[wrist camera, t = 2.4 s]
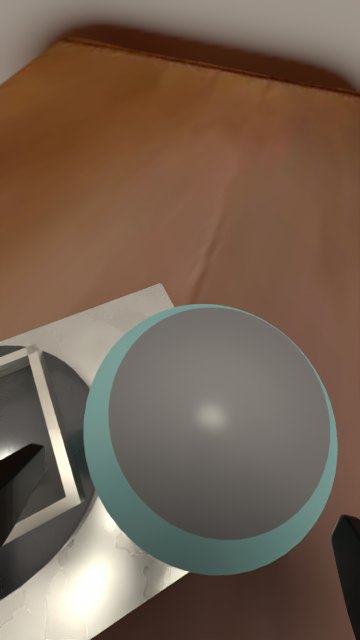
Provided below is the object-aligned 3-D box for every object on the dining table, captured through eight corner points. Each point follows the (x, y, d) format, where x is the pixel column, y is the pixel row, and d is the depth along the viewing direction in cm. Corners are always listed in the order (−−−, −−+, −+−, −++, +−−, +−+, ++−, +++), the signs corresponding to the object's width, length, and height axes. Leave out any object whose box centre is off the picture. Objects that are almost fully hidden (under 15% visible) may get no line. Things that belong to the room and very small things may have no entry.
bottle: (244, 470, 17) (432, 476, 5) (156, 523, 15) (142, 702, 4) (199, 383, 19) (258, 254, 7) (118, 423, 17) (36, 338, 6)
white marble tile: (278, 504, 17) (317, 516, 13) (-163, 801, 11) (-356, 1001, 7) (160, 289, 23) (161, 251, 19) (-153, 406, 18) (-248, 388, 14)
